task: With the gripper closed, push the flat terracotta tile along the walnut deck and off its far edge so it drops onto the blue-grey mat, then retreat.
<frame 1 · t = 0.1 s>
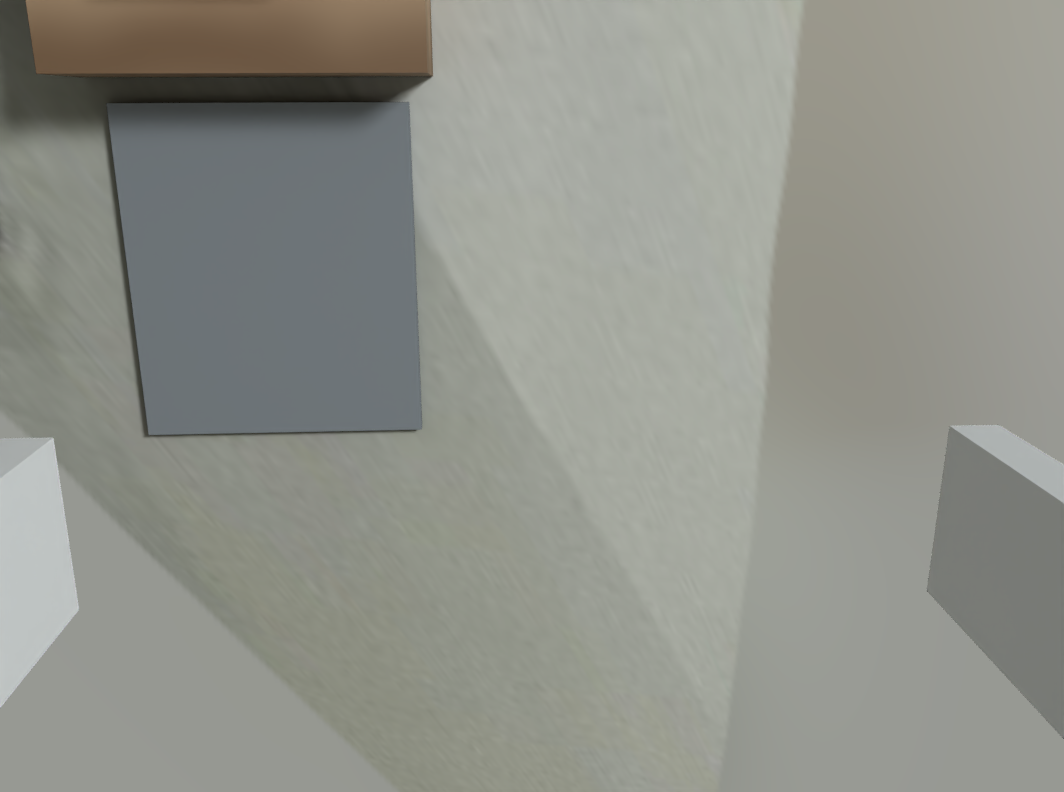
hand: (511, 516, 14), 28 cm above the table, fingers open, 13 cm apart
mat: (274, 274, 41), on the table
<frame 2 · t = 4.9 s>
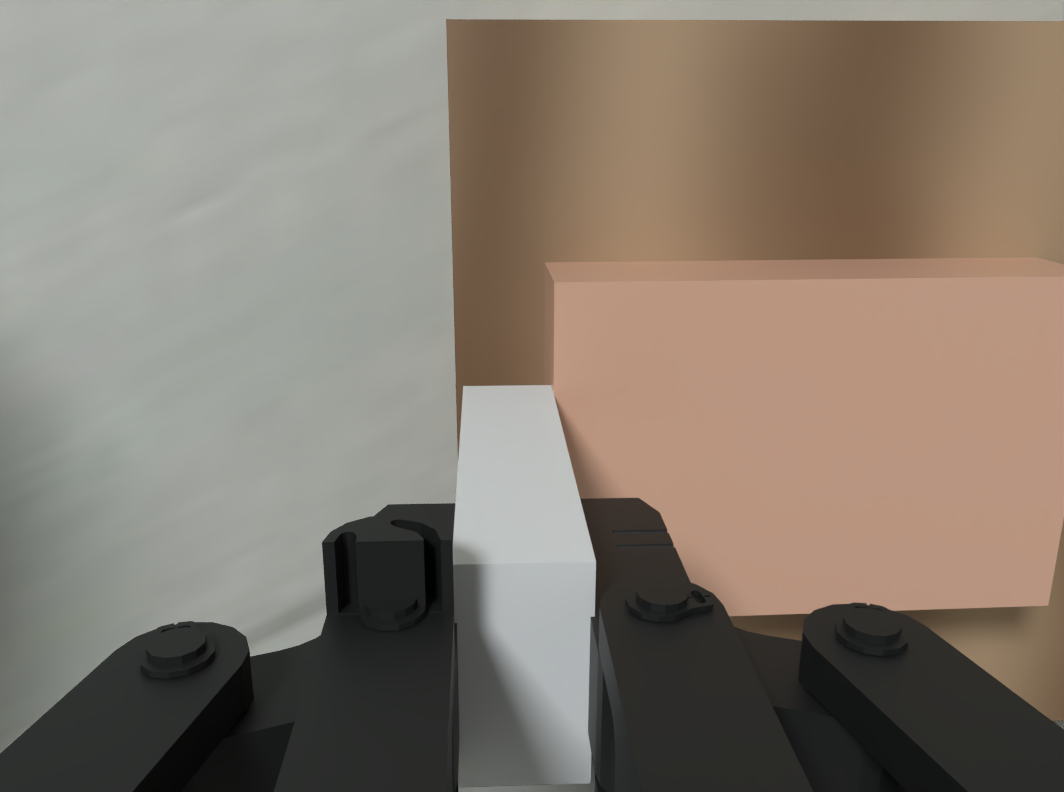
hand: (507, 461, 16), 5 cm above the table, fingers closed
deck: (764, 362, 22), on the table
tile: (781, 418, 18), point 4 cm above the table, touching gripper
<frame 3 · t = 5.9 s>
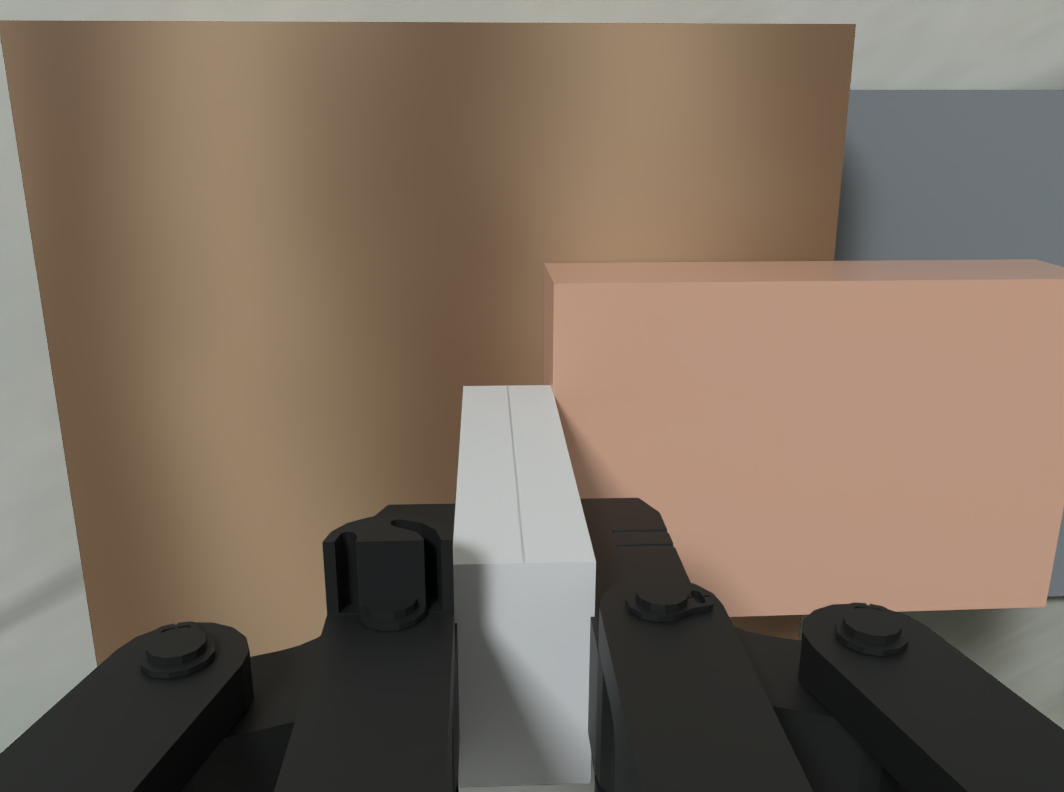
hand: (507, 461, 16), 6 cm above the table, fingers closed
deck: (453, 369, 21), on the table
tile: (780, 419, 18), point 4 cm above the table, touching gripper
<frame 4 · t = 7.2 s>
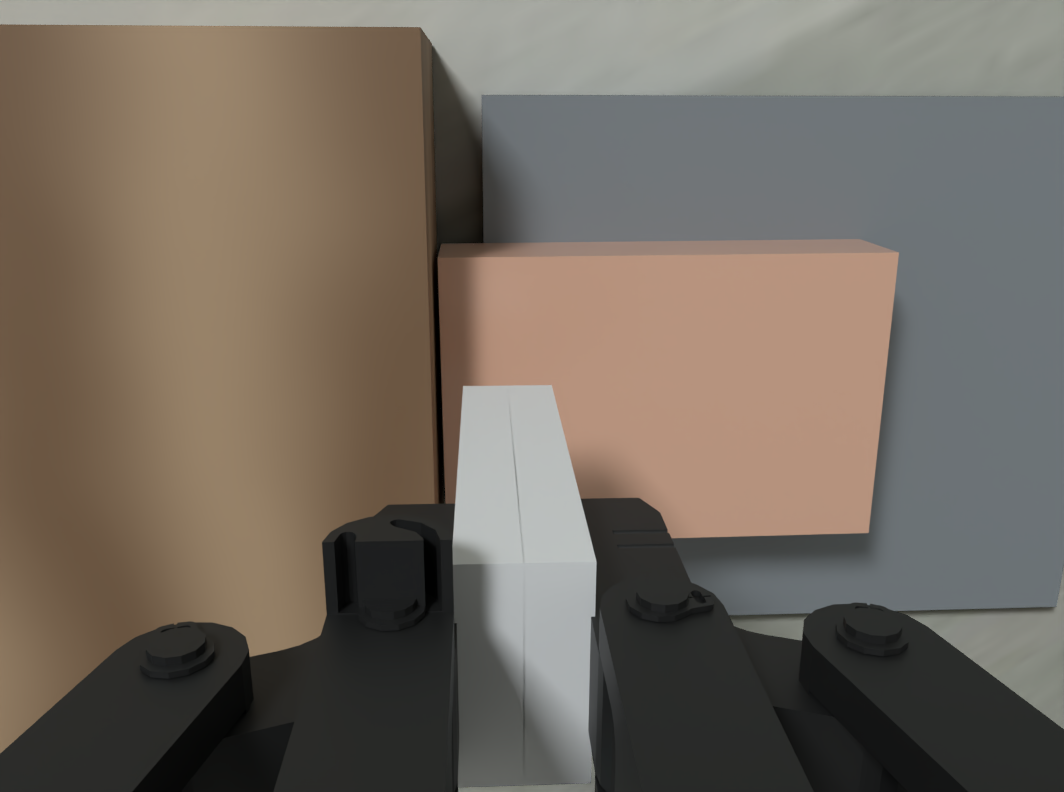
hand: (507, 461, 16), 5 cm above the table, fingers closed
mat: (791, 371, 22), on the table
deck: (121, 379, 21), on the table
tile: (648, 376, 21), resting on mat
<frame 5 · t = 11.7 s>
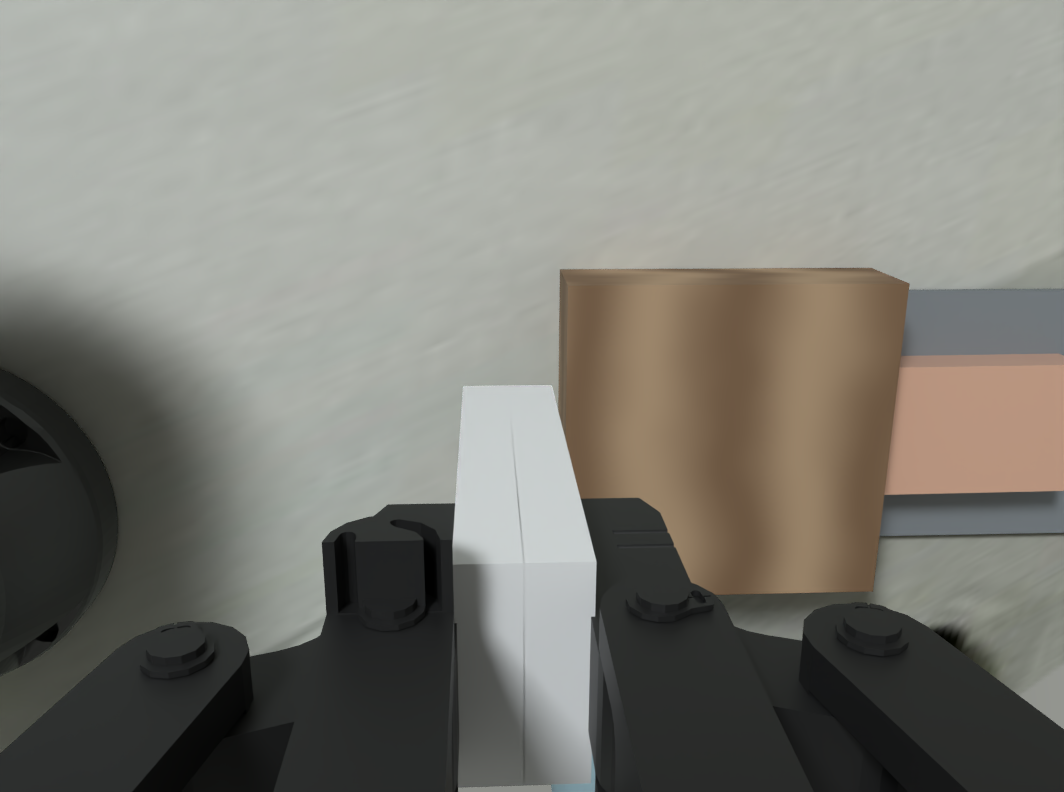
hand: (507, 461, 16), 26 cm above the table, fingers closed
mat: (1020, 414, 45), on the table
bottle: (612, 712, 49), on the table
deck: (707, 418, 44), on the table
tile: (955, 417, 44), resting on mat
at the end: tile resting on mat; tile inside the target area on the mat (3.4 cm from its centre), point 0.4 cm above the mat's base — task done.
